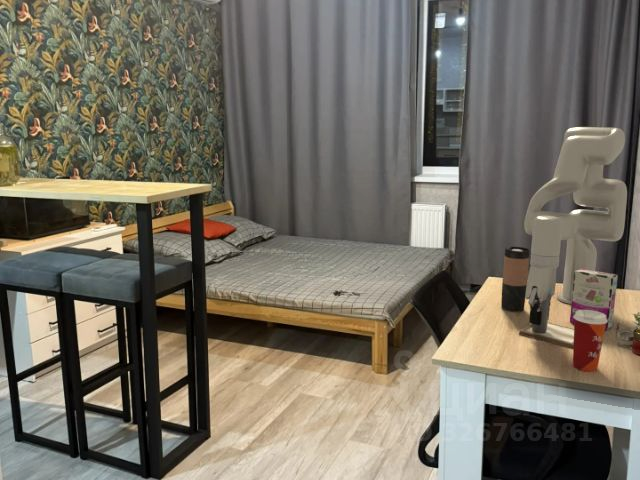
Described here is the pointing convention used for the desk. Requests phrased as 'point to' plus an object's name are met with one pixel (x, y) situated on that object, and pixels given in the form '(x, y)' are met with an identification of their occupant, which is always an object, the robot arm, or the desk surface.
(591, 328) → the paper cup
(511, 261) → the travel mug
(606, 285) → the candy bar box
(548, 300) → the marker
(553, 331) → the clipboard
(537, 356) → the desk surface
